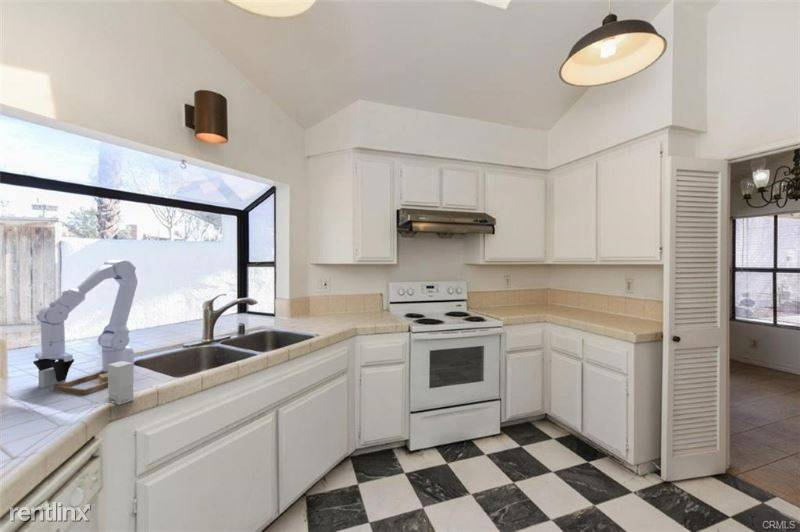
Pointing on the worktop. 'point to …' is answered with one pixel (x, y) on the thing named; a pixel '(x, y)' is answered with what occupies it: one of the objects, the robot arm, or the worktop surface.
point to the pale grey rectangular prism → (47, 378)
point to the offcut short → (103, 377)
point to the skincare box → (120, 382)
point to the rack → (66, 386)
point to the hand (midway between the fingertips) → (54, 380)
